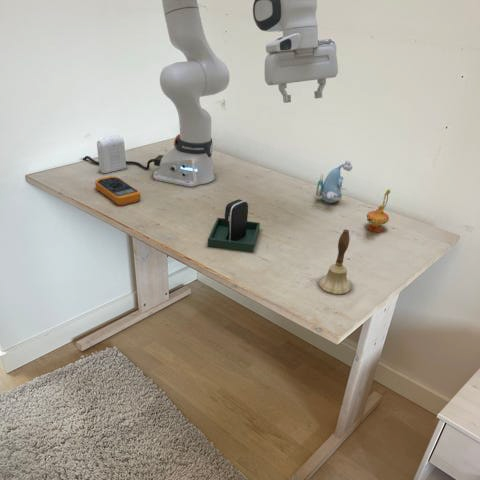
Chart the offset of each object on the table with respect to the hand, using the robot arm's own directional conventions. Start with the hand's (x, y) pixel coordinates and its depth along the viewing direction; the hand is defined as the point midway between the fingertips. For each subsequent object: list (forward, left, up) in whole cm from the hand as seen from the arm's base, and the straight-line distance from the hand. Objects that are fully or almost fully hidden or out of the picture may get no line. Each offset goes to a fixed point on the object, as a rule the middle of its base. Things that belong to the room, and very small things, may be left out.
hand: (303, 100), depth 134 cm
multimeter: (-58, +8, -38) cm, 70 cm away
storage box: (-15, -12, -37) cm, 42 cm away
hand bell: (+15, -31, -38) cm, 51 cm away
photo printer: (-68, +29, -38) cm, 83 cm away
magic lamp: (+27, +5, -38) cm, 47 cm away
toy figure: (+13, +23, -38) cm, 46 cm away
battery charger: (-15, -12, -37) cm, 42 cm away
